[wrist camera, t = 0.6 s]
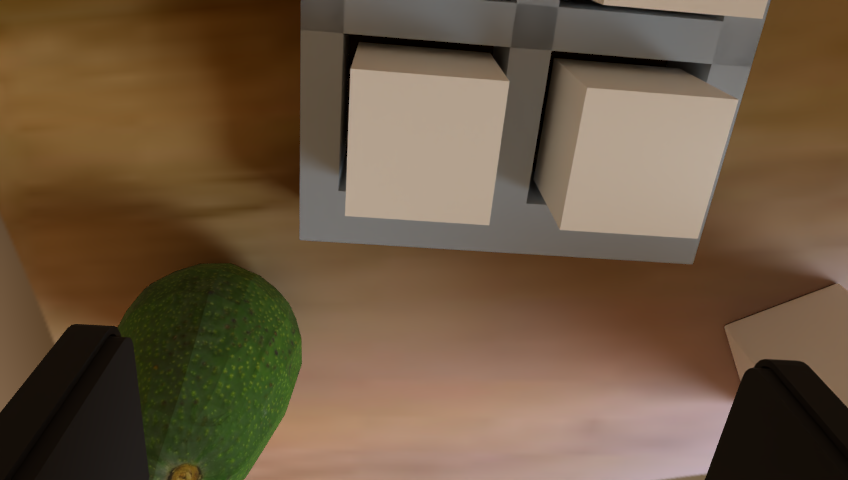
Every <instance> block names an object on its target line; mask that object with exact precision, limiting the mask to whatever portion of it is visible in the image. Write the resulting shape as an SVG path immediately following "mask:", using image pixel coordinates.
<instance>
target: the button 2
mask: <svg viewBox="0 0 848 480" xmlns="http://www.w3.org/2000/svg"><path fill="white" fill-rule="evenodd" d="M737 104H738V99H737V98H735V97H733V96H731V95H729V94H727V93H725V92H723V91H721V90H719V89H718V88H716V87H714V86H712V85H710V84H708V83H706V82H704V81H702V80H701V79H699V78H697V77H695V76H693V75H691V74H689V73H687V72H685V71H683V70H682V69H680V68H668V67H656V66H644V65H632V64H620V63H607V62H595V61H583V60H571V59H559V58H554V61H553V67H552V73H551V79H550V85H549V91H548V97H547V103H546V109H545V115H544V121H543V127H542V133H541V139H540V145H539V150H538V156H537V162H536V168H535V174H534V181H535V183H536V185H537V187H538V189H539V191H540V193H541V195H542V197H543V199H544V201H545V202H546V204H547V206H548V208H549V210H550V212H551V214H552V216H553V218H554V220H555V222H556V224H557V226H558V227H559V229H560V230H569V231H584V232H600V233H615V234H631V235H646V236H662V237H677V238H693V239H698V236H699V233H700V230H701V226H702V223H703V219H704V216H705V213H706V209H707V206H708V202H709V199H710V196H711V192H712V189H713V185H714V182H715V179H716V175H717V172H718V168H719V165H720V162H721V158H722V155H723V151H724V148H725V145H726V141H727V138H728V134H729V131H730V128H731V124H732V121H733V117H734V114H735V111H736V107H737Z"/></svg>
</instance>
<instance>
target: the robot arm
mask: <svg viewBox="0 0 848 480" xmlns="http://www.w3.org/2000/svg"><path fill="white" fill-rule="evenodd" d="M0 480H149V470H148V461H147V453H146V445H145V437H144V428H143V420H142V412H141V403H140V395H139V387H138V379H137V370H136V362H135V354H134V346H133V342H132V340H131V338H129V337H121V334H120V331H119V329H118V328H117V327H115V326H102V325H82V324H74V325H71V326H70V327H69V328H68V329H67V330H66V331H65V332H64V333H63V335H62V336H61V337H60V338H59V340H58V341H57V342H56V343H55V345H54V346H53V347H52V349H51V350H50V351H49V352H48V353H47V355H46V356H45V357H44V358H43V360H42V361H41V362H40V364H39V365H38V366H37V367H36V368H35V370H34V371H33V372H32V374H31V375H30V376H29V377H28V379H27V380H26V381H25V382H24V384H23V385H22V386H21V387H20V389H19V390H18V391H17V392H16V394H15V395H14V396H13V397H12V399H11V400H10V401H9V402H8V404H7V405H6V406H5V408H4V409H3V410H2V411H1V412H0ZM705 480H848V408H847V406H846V405H845V404H844V403H843V402H842V401H841V400H840V399H839V398H838V397H837V396H836V395H835V394H834V392H833V391H832V390H831V389H830V388H829V387H828V386H827V385H826V384H825V383H824V382H823V381H822V380H821V379H820V377H819V376H818V375H817V374H816V373H815V372H814V371H813V370H812V369H811V368H810V367H809V366H808V365H807V364H806V363H804V362H801V361H796V360H776V359H763V360H760V361H758V362H757V363H756V364H755V366H754V368H750V369H748V370H747V371H745V373H744V375H743V377H742V380H741V383H740V385H739V388H738V391H737V393H736V396H735V399H734V402H733V404H732V407H731V410H730V413H729V415H728V418H727V421H726V424H725V426H724V429H723V432H722V434H721V437H720V440H719V443H718V445H717V448H716V451H715V454H714V456H713V459H712V462H711V464H710V467H709V470H708V473H707V476H706V478H705Z"/></svg>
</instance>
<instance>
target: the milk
mask: <svg viewBox="0 0 848 480" xmlns="http://www.w3.org/2000/svg"><path fill="white" fill-rule="evenodd" d="M724 329H725V332H726V335H727V338H728V342H729V345H730V348H731V352H732V355H733V358H734V362H735V365H736V368H737V372H738V375H739V378H740V382H741V380H742V377H743V375H744V373H745V371H747V370H748V369H750V368H754V366H755V364H756V363H757V362H758V361H760V360H763V359H776V360H796V361H801V362H804V363H806V364H807V365H808V366H809V367H810V368H811V369H812V370H813V371H814V372H815V373H816V374H817V375H818V376H819V377H820V379H821V380H822V381H823V382H824V383H825V384H826V385H827V386H828V387H829V388H830V389H831V390H832V391H833V392H834V394H835V395H836V396H837V397H838V398H839V399H840V400H841V401H842V402H843V403H844V404H845V405H846V406H847V408H848V291H847V290H846V289H845V288H843V287H842V286H841V285H840V284H834V285H832V286H829V287H826V288H824V289H821V290H818V291H815V292H813V293H810V294H807V295H805V296H802V297H799V298H797V299H794V300H791V301H789V302H786V303H783V304H781V305H778V306H775V307H773V308H770V309H767V310H765V311H762V312H759V313H757V314H754V315H751V316H749V317H746V318H743V319H741V320H738V321H735V322H733V323H730V324H728V325H725V326H724Z"/></svg>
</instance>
